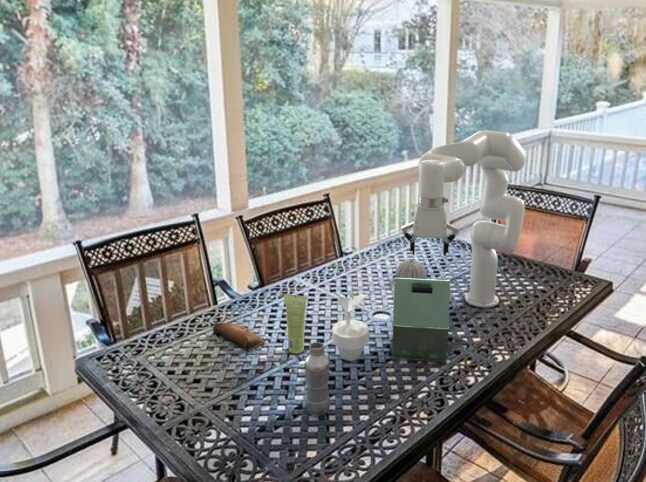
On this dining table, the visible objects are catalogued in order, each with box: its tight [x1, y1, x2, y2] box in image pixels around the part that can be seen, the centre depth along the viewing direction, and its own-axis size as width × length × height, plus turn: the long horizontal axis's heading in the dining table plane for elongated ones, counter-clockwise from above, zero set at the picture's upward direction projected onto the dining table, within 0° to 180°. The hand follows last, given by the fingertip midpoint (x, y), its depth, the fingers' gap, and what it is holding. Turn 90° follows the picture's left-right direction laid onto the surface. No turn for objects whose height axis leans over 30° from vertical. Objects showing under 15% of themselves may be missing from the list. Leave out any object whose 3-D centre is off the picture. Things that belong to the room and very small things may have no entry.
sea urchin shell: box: [395, 259, 428, 279], centre depth 223 cm, size 13×14×8 cm
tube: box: [283, 293, 308, 355], centre depth 169 cm, size 6×5×20 cm
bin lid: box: [392, 277, 451, 329], centre depth 160 cm, size 14×17×5 cm
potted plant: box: [331, 290, 370, 362], centre depth 165 cm, size 13×12×25 cm
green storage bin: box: [391, 324, 449, 364], centre depth 170 cm, size 14×17×12 cm
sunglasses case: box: [212, 322, 266, 352], centre depth 179 cm, size 18×7×7 cm
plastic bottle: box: [304, 341, 331, 417], centre depth 140 cm, size 6×7×20 cm
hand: (428, 253), depth 166 cm, fingers open, 9 cm apart
